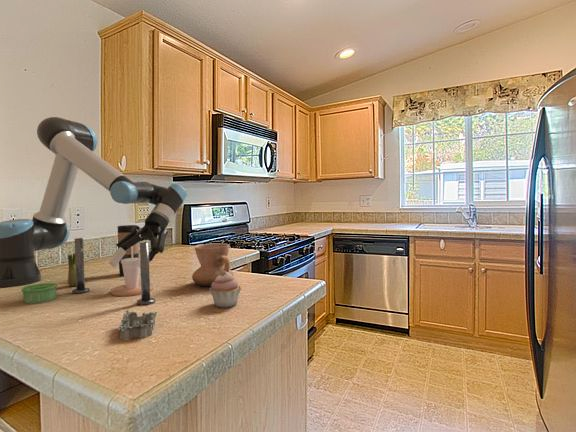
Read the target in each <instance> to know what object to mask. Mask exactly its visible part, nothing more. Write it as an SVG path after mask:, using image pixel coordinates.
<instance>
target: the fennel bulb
mask: <svg viewBox="0 0 576 432" xmlns="http://www.w3.org/2000/svg"><path fill="white" fill-rule="evenodd" d="M67 259H68V262H67V263H68V272H67V284H68V285H69V286H70V287H76V264H75V251H74V253H72V254H67Z"/></svg>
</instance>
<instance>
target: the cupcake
mask: <svg viewBox="0 0 576 432" xmlns="http://www.w3.org/2000/svg"><path fill="white" fill-rule="evenodd" d="M241 291H242V286H239V281H238V279H236V278H235V277H234V275H233V276H232V274H230V273H228V272H226V271H224V272H223V274H222V275H220V276H218V277H217V278H216V279H215V281H214V282H213V283H212V285H211V286H210V287H209V291H208V292H209V293H210V294H211V296H212V300H213V303H214V306H215V307H217V308H223V309H224V308H225V309H226V308H232V307H235V306H236V305H237V304H238V301H239V295H240V292H241Z"/></svg>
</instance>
